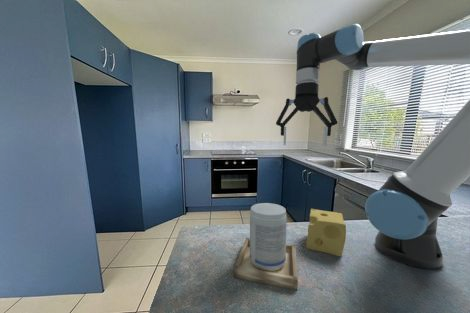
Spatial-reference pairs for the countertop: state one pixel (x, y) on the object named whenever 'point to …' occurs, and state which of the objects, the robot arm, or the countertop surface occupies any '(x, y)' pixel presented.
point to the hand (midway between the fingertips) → (304, 145)
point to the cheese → (326, 232)
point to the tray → (277, 278)
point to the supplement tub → (268, 236)
